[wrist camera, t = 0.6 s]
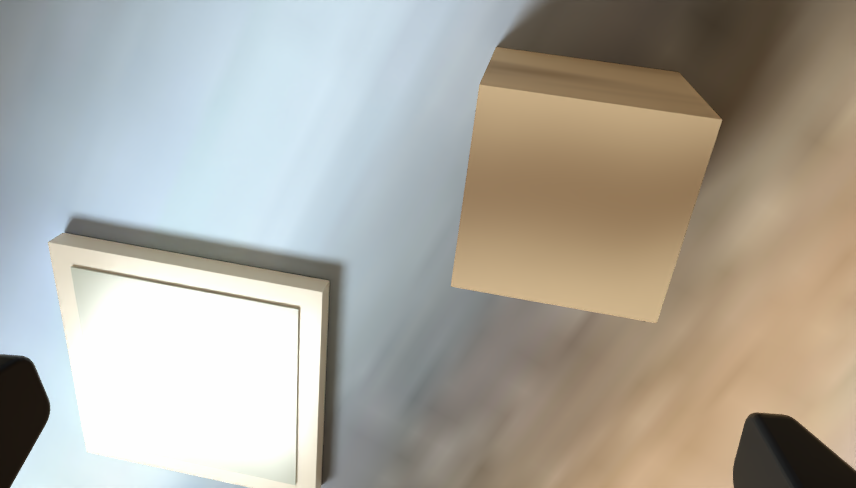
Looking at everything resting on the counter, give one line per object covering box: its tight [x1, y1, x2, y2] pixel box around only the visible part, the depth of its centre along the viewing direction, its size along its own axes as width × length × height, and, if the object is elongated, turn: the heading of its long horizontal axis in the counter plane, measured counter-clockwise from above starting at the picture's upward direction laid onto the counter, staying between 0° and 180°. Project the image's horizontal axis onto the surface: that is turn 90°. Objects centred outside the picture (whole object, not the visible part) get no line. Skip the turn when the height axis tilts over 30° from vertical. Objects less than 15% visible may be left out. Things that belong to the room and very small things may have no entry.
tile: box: [48, 233, 330, 488], centre depth 25 cm, size 10×10×1 cm
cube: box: [451, 47, 722, 323], centre depth 17 cm, size 5×5×5 cm
